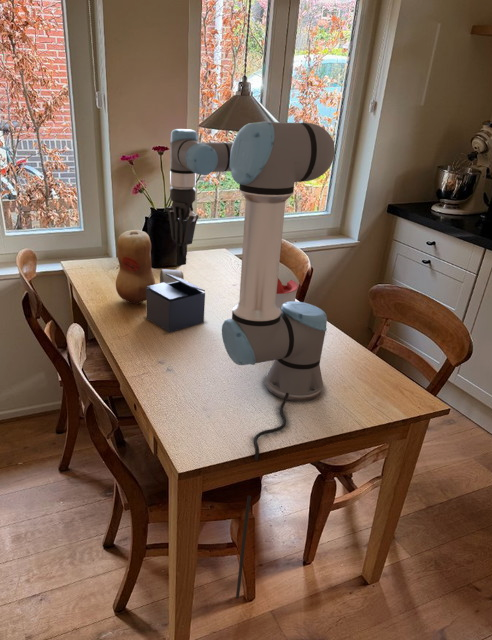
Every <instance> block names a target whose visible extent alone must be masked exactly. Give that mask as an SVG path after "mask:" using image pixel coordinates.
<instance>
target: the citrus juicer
mask: <svg viewBox="0 0 492 640" xmlns="http://www.w3.org/2000/svg"><path fill="white" fill-rule="evenodd" d="M298 287H299V286H298V284H297V282H296V281H294V280H293V279H290V280H288V281H287V283H286V285H285V284H283V283H282V281H281V279H280V278H279V277H278V283H277V293H276V304H275V305H276V306H277V307H278V308H279V309H280V311H282V310H281V307H282V305H283V304H284V303H286V302H290V301H296V296H297V291H298Z"/></svg>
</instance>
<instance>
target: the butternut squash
mask: <svg viewBox="0 0 492 640" xmlns="http://www.w3.org/2000/svg"><path fill="white" fill-rule="evenodd" d="M116 251H117V253H116V254H117V261H118V265H119V270H118V273H117V275H116V279H115V290H116V292H117V294H118V296H119V297H120V299H122V300H123V301H126V302H128V303H129V304H133V305H134V304H137V305H140V303H142V302H146V289H147V286H150V285H154V284H156V280H155V276H154V273H153V270H152V269H153V267H152V254H151V253H152V252H151V251H152V242H151V238H150V236H149V234H148V233H147V232H146V231H143V230H140V229H131V230H127V231H124V232H122V233H121V234H120V235H119V237H118V239H117V250H116Z"/></svg>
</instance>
